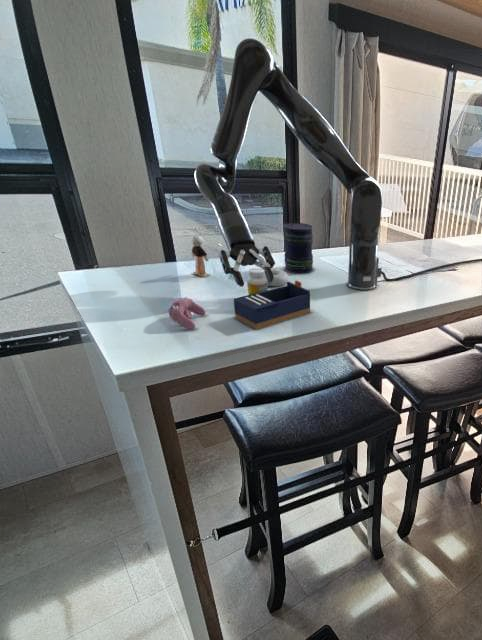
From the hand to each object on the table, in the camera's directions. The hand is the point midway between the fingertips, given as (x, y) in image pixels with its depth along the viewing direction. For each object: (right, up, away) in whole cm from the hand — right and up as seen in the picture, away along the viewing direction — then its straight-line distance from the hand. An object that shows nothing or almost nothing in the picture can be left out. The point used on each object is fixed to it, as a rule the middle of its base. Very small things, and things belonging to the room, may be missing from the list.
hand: (257, 283), depth 118 cm
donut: (-1, +5, +19) cm, 19 cm away
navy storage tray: (+6, -10, -3) cm, 11 cm away
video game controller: (-13, -13, -12) cm, 22 cm away
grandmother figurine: (-24, +7, +18) cm, 30 cm away
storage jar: (+4, +13, +33) cm, 35 cm away
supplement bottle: (0, -5, +3) cm, 6 cm away
